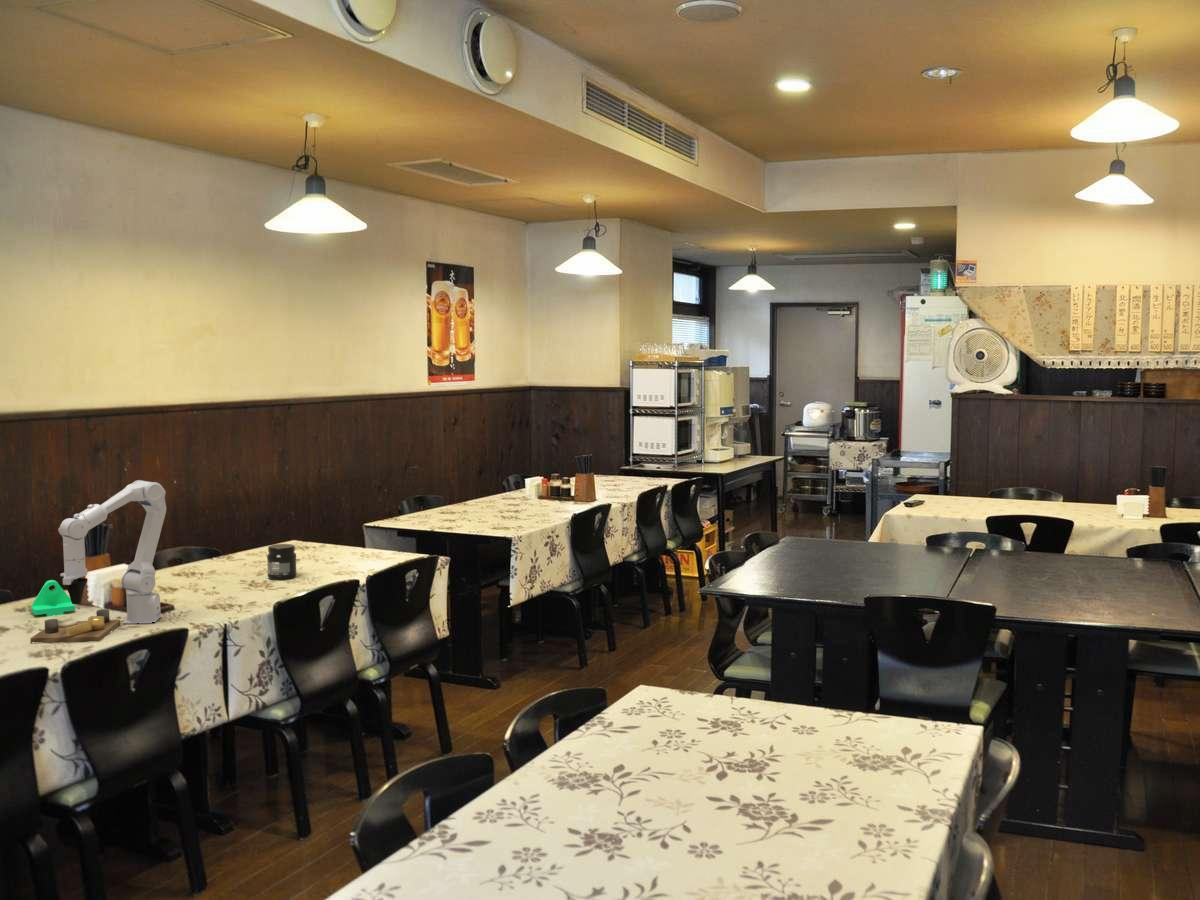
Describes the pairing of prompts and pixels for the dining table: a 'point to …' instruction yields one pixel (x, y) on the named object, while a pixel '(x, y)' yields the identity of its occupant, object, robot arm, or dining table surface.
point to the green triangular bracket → (52, 600)
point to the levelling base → (57, 633)
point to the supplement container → (281, 562)
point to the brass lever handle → (86, 626)
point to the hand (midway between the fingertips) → (76, 603)
